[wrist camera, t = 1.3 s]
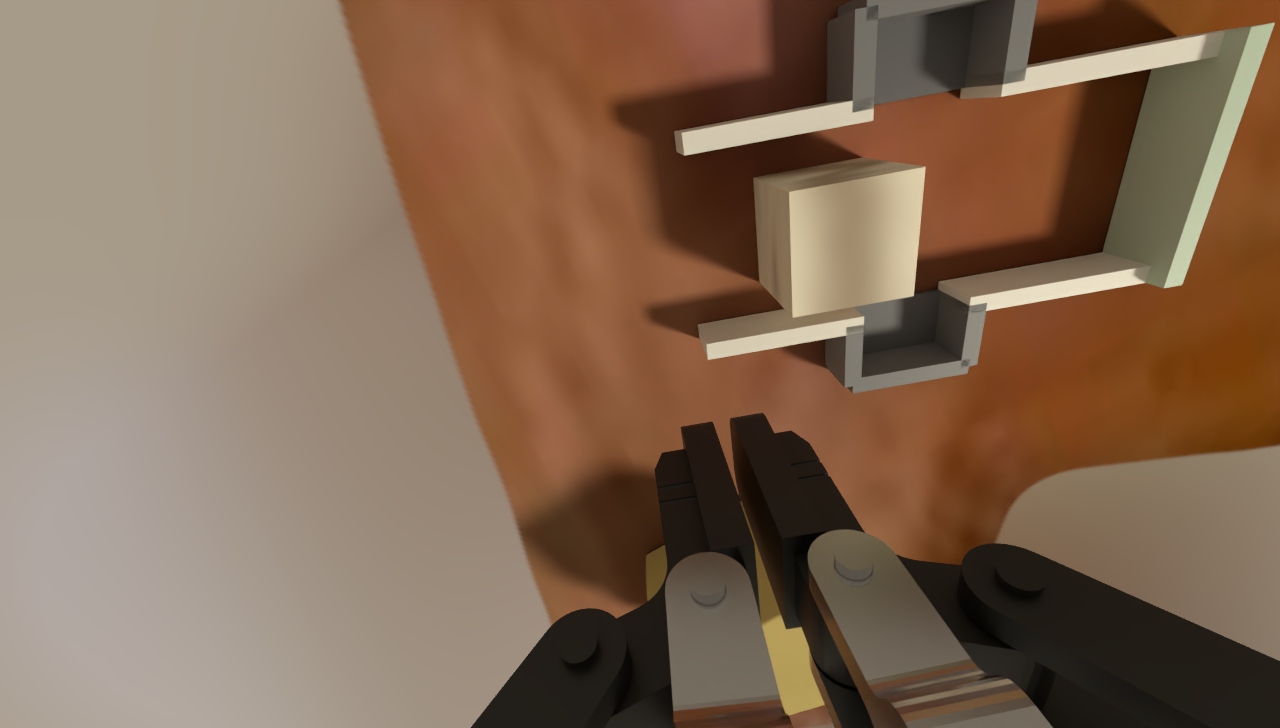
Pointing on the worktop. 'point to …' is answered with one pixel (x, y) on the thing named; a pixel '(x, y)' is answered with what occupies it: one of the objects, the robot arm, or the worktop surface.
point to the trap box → (994, 67)
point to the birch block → (839, 234)
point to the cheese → (782, 643)
